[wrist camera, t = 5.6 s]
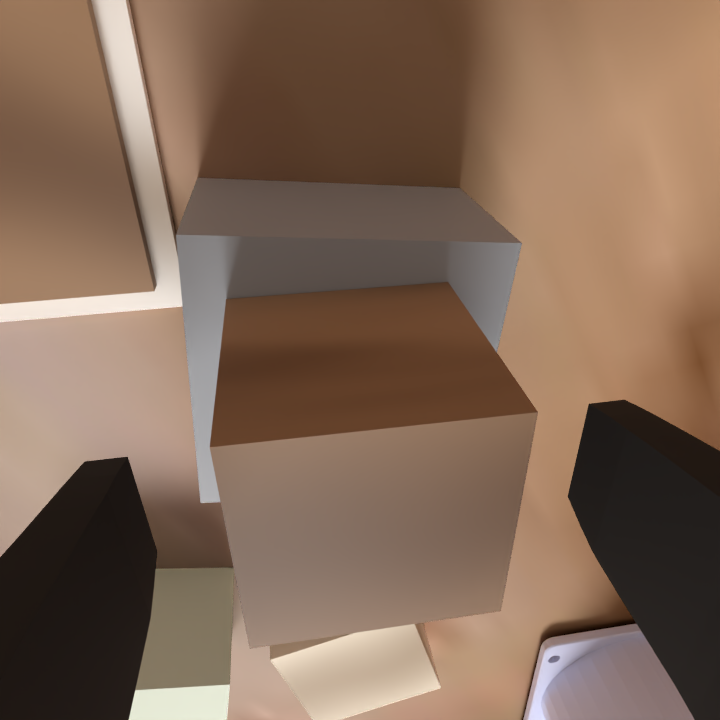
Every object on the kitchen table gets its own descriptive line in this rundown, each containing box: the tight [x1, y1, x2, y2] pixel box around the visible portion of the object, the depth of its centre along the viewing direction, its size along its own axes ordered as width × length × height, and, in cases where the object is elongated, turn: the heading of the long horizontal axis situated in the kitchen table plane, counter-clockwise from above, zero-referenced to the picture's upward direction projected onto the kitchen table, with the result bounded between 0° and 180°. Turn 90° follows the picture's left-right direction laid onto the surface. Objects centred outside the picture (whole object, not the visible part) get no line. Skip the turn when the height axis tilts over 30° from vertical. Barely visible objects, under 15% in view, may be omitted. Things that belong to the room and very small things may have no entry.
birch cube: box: [270, 623, 441, 720], centre depth 18 cm, size 4×4×4 cm
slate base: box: [176, 178, 522, 503], centre depth 13 cm, size 6×6×4 cm
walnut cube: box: [210, 282, 538, 649], centre depth 10 cm, size 4×4×4 cm
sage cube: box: [129, 568, 234, 720], centre depth 18 cm, size 4×4×4 cm
